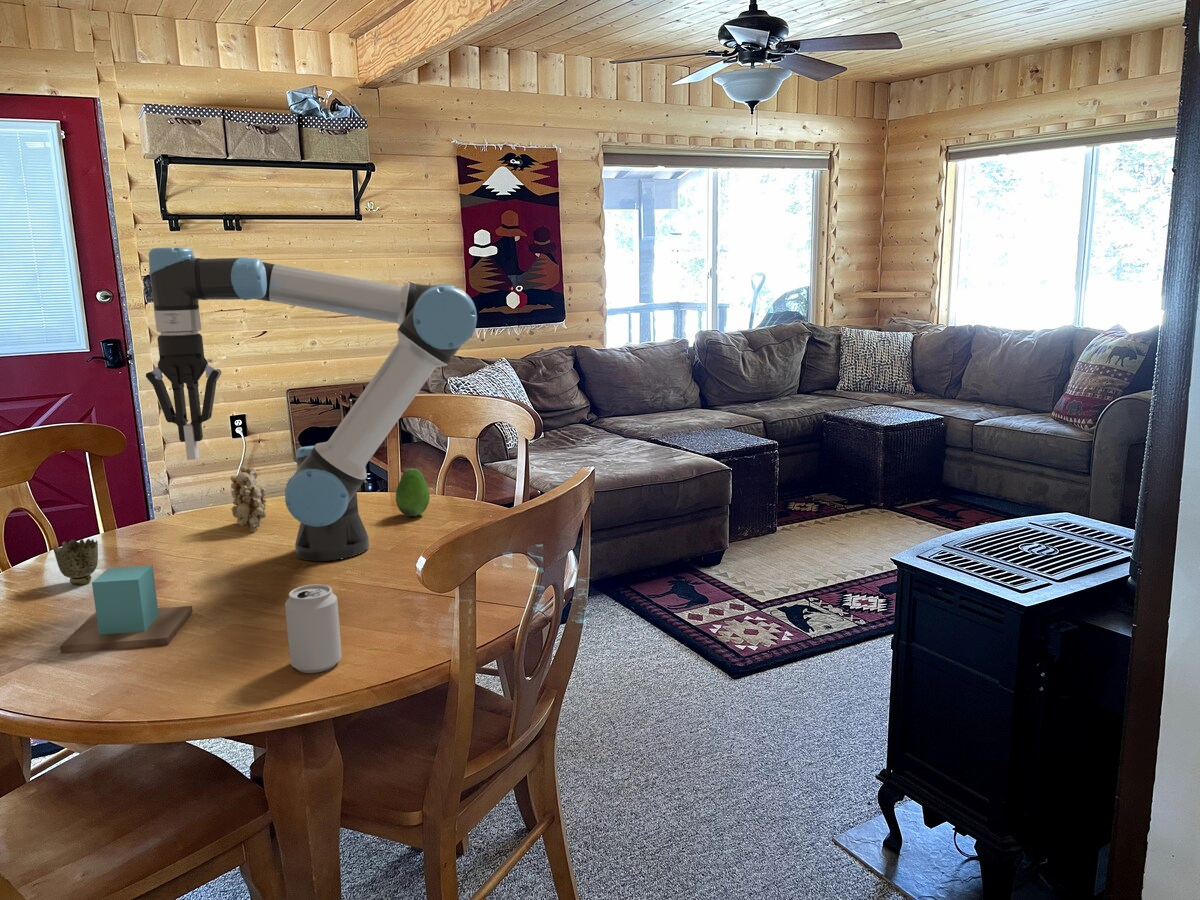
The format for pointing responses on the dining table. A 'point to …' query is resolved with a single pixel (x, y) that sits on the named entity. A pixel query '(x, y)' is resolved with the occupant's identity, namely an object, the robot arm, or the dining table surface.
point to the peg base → (153, 636)
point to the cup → (77, 560)
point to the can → (313, 628)
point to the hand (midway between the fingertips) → (193, 458)
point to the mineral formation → (248, 498)
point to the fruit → (412, 493)
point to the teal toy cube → (125, 599)
